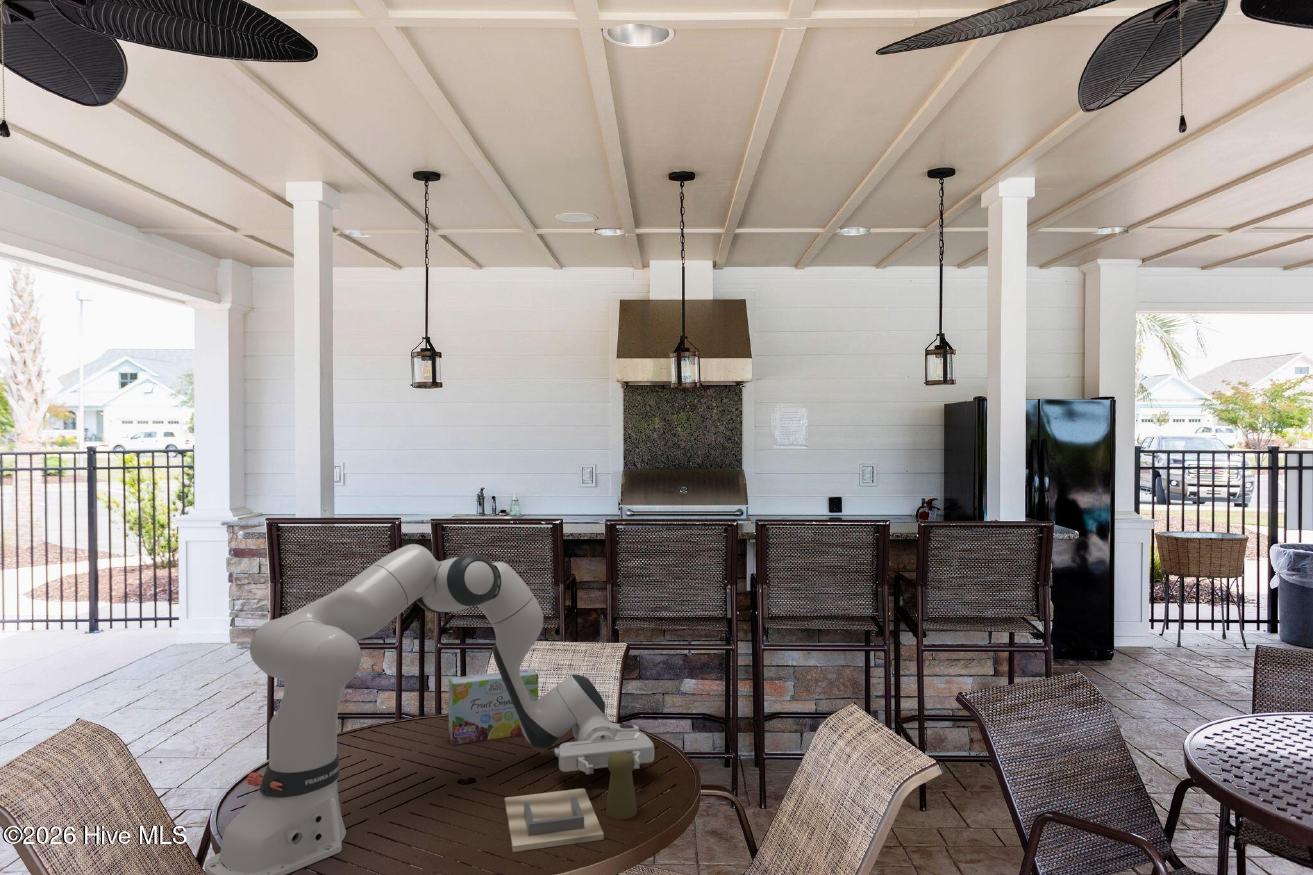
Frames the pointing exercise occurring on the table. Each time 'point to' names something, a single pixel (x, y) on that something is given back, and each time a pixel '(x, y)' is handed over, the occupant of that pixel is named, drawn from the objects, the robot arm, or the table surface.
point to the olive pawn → (621, 787)
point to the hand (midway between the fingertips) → (613, 767)
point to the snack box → (485, 707)
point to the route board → (550, 808)
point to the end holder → (554, 821)
